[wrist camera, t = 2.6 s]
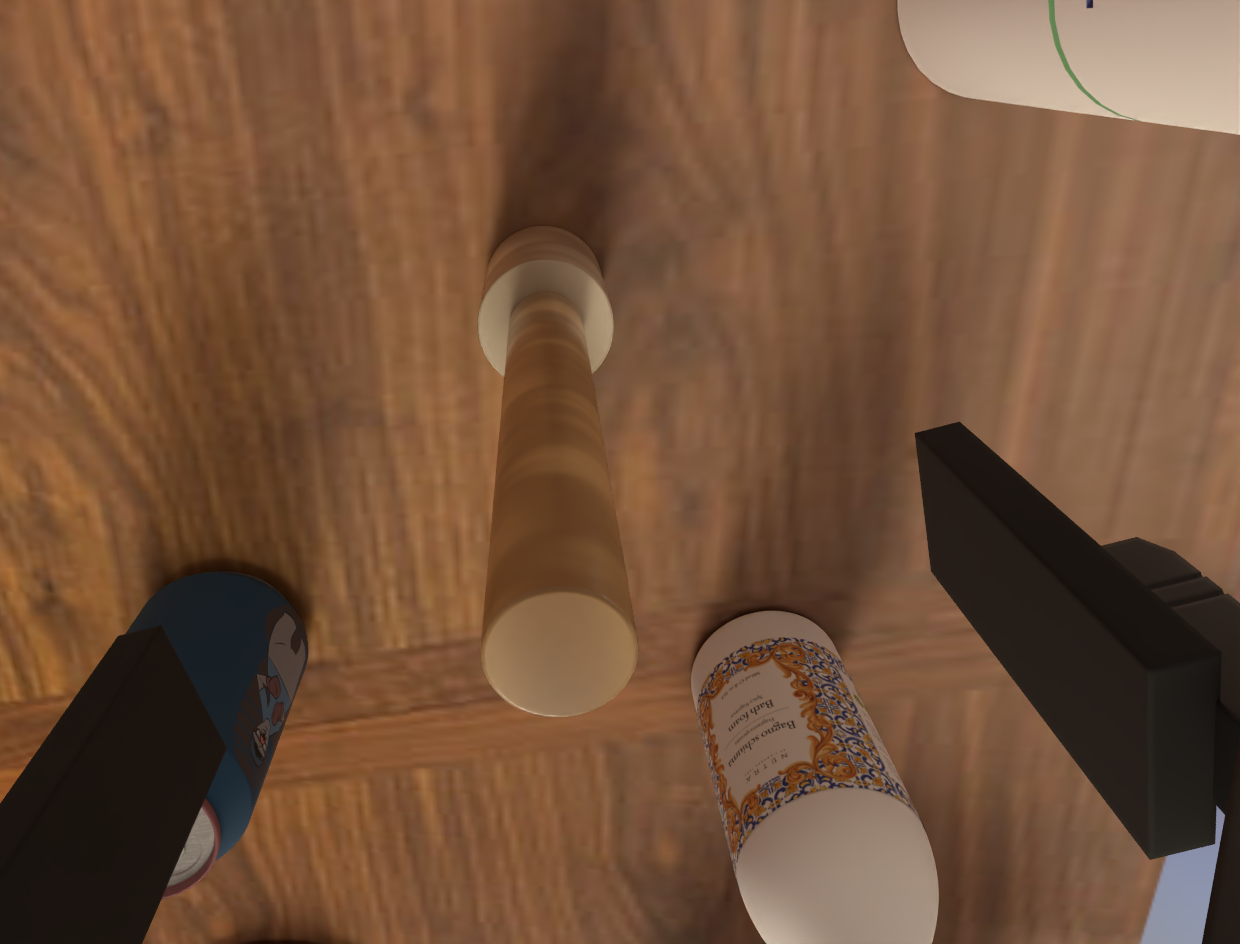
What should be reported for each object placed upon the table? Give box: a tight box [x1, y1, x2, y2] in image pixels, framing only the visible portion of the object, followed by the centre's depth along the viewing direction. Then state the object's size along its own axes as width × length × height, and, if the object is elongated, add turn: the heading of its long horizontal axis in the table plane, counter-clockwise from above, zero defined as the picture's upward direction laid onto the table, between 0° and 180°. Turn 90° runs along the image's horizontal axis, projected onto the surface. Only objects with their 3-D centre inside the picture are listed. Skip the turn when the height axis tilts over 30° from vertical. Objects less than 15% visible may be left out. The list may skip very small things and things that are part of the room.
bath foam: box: [691, 611, 939, 944], centre depth 35 cm, size 7×7×20 cm
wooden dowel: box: [478, 226, 639, 718], centre depth 25 cm, size 4×4×24 cm
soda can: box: [126, 571, 308, 899], centre depth 36 cm, size 7×7×12 cm
